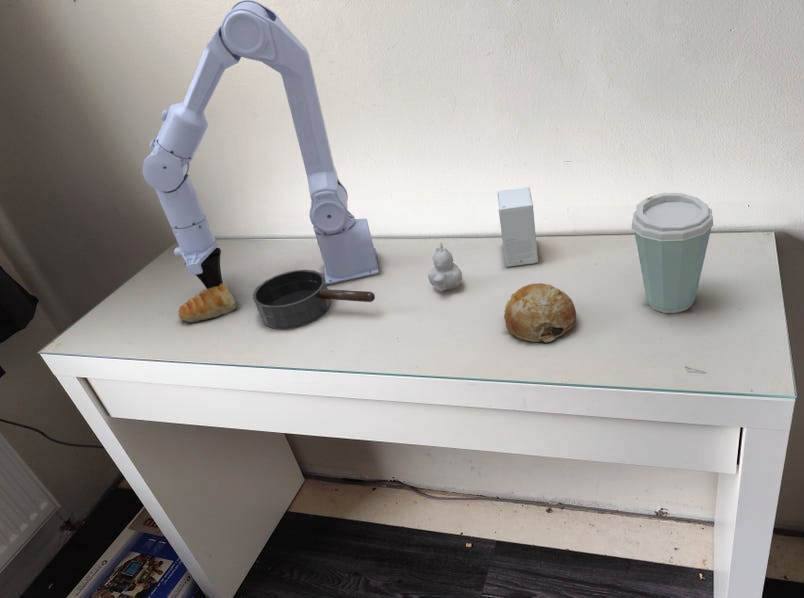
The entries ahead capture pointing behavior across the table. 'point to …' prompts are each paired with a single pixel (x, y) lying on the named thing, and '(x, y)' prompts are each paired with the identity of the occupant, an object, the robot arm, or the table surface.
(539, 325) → the bread roll
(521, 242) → the small box
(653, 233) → the disposable coffee cup
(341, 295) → the pan handle
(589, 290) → the table surface
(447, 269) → the grey figurine
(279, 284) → the pan
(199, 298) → the pastry
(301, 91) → the robot arm
